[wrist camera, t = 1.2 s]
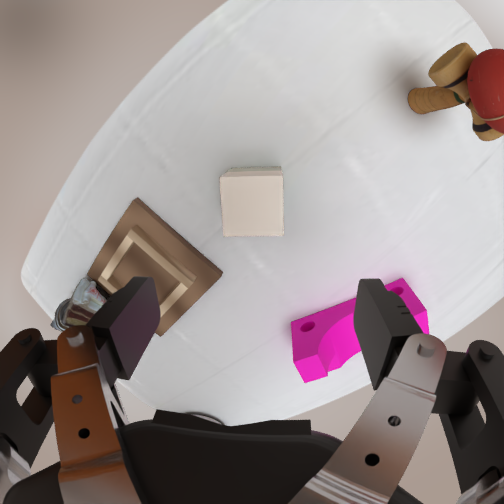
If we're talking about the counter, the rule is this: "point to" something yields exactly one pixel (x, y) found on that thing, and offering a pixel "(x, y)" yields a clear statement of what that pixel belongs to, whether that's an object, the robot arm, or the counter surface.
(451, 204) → the counter surface
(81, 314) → the chocolate cake
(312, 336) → the toy block
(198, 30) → the counter surface
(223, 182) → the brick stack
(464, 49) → the kendama
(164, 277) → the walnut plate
